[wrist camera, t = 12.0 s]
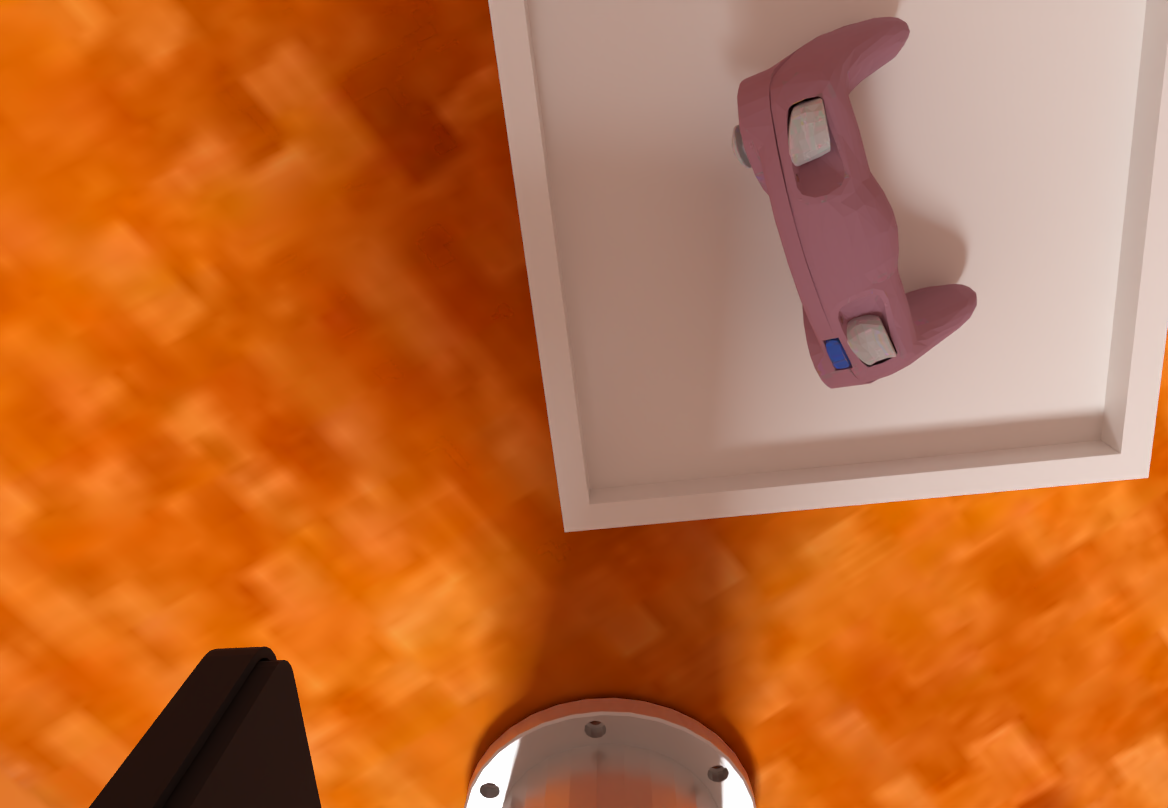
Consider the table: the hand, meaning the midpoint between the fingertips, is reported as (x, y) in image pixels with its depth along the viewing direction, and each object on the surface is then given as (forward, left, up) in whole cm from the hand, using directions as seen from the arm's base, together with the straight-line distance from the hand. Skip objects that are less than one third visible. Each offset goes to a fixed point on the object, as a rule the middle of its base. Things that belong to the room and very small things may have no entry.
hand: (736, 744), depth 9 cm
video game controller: (+2, -6, -20) cm, 22 cm away
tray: (+2, -6, -21) cm, 22 cm away
